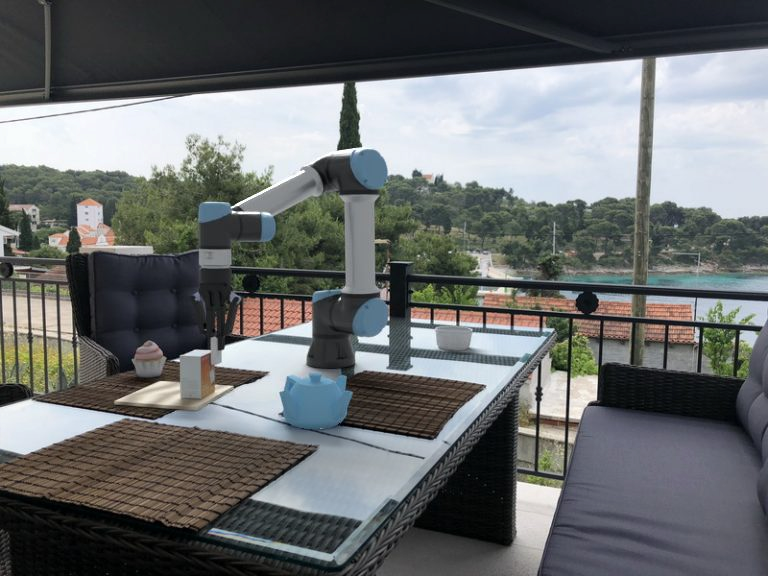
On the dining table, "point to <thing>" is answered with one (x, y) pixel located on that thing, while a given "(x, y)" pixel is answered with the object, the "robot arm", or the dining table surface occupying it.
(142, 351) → the cupcake
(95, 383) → the dining table surface
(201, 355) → the small box
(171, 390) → the birch board
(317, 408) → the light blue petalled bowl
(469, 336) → the ramekin
